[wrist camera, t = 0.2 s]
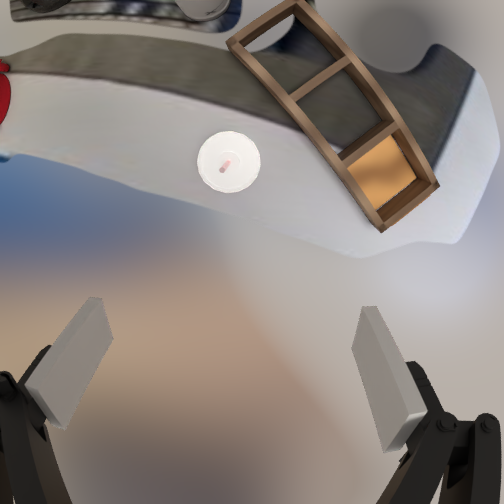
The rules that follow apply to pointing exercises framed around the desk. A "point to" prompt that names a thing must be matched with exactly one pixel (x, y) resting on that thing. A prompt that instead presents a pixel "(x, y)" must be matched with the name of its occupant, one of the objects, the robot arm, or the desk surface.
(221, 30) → the desk surface
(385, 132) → the walnut rack
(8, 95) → the alarm clock
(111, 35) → the desk surface
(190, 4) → the travel mug
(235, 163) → the beverage cup
